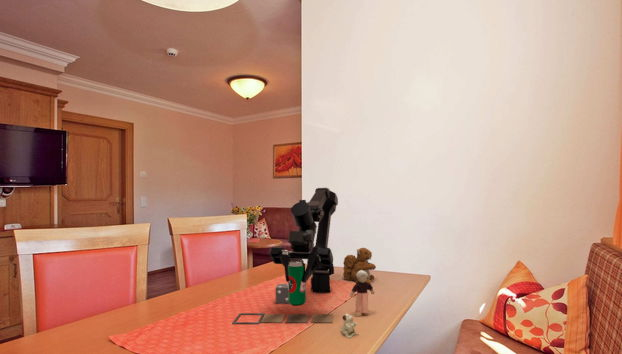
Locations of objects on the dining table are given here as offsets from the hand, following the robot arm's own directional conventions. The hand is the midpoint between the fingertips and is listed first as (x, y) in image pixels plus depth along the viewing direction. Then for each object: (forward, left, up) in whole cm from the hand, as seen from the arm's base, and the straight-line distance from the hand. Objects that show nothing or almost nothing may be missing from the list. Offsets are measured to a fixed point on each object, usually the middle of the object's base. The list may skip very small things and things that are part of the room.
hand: (295, 281), depth 95 cm
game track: (+4, -1, -11) cm, 11 cm away
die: (+6, -17, -11) cm, 21 cm away
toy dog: (-14, +9, -11) cm, 20 cm away
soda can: (0, -1, -7) cm, 7 cm away
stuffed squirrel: (-21, -44, -11) cm, 50 cm away
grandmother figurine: (-19, -5, -11) cm, 23 cm away
